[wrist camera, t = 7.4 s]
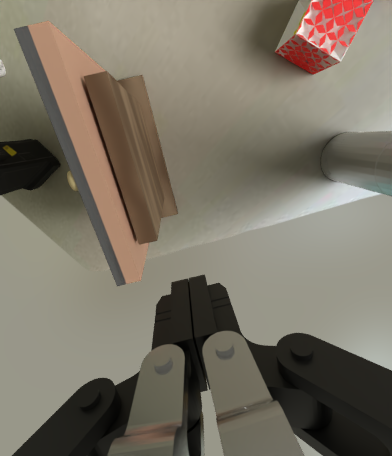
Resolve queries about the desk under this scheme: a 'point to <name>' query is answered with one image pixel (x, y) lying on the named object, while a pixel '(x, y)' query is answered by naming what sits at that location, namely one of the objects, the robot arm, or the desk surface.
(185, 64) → the desk surface
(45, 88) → the picture frame
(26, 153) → the portable radio
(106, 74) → the frame stand
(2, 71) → the hat wearing toy figure
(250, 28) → the desk surface
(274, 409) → the robot arm
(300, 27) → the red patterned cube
